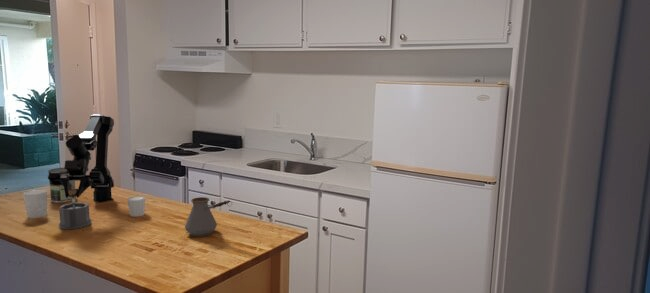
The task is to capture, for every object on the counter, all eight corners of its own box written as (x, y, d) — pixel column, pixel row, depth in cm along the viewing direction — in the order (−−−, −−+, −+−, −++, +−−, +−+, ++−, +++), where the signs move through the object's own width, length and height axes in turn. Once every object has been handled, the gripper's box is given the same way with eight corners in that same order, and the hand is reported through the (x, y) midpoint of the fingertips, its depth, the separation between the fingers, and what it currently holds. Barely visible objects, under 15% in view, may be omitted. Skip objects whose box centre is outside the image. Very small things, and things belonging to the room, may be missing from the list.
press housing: (65, 220, 175) (64, 202, 174) (95, 219, 177) (94, 201, 176) (51, 231, 162) (50, 212, 161) (84, 230, 164) (82, 211, 163)
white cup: (52, 214, 182) (50, 191, 181) (33, 220, 175) (31, 195, 174) (40, 211, 186) (38, 188, 184) (21, 217, 178) (19, 193, 177)
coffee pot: (178, 234, 163) (176, 194, 160) (202, 225, 172) (201, 188, 170) (219, 247, 151) (218, 204, 149) (242, 237, 160) (242, 197, 158)
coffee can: (47, 203, 198) (45, 172, 195) (54, 197, 207) (51, 168, 205) (73, 201, 201) (71, 171, 198) (78, 195, 210) (76, 167, 208)
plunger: (68, 208, 172) (66, 187, 171) (87, 207, 173) (85, 187, 172) (61, 213, 166) (59, 192, 164) (80, 212, 167) (79, 191, 166)
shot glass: (124, 215, 182) (123, 199, 181) (137, 211, 189) (136, 195, 187) (137, 217, 180) (136, 201, 179) (149, 213, 186) (149, 197, 185)
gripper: (47, 151, 168) (36, 187, 159) (99, 151, 171) (92, 185, 162) (57, 167, 177) (48, 201, 168) (107, 166, 180) (100, 200, 171)
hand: (71, 197), depth 167 cm, fingers closed on plunger, 3 cm apart
